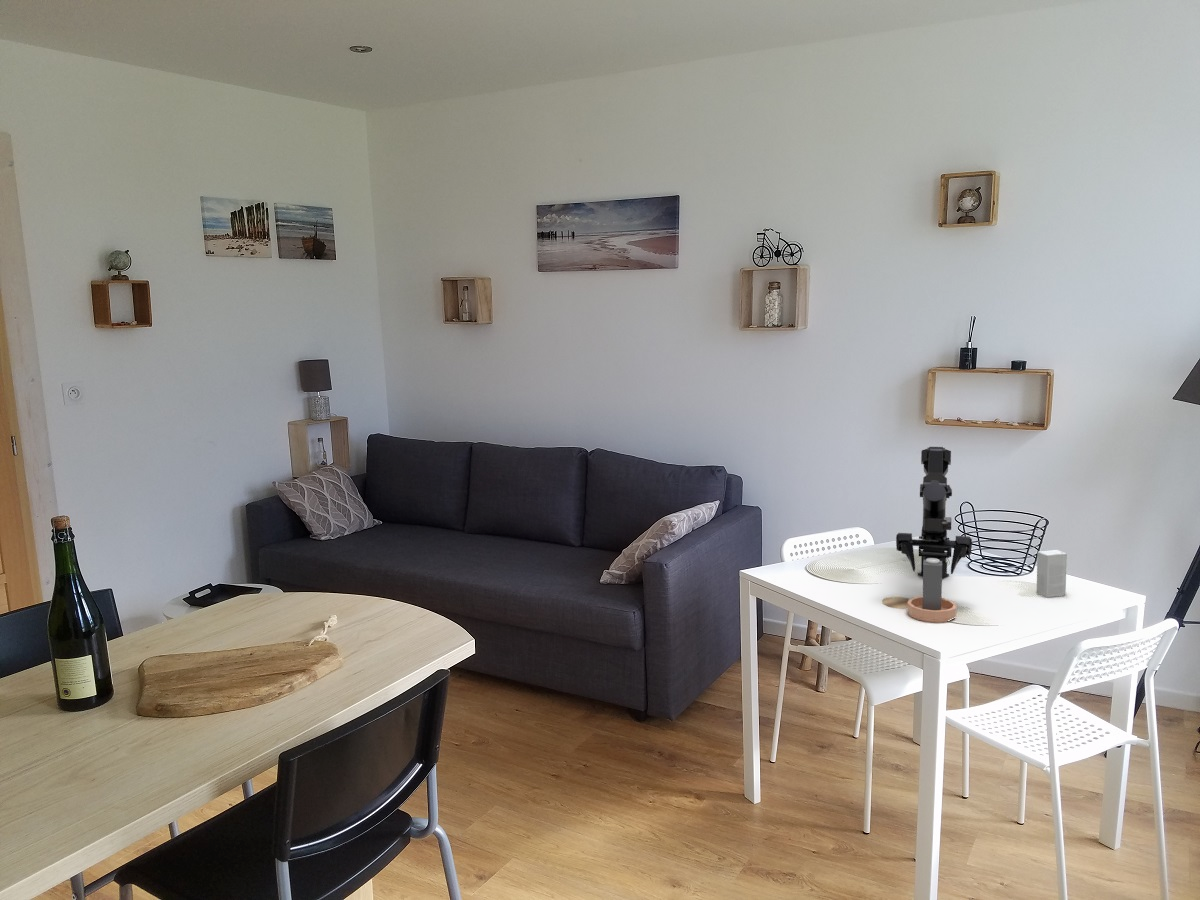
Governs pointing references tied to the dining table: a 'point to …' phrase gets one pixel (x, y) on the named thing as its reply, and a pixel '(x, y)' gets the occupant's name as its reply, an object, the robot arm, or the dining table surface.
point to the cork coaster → (896, 602)
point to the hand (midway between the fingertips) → (932, 572)
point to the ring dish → (931, 611)
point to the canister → (932, 584)
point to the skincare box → (1051, 573)
